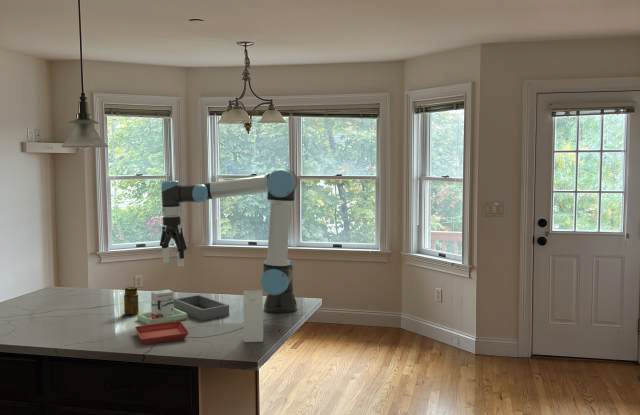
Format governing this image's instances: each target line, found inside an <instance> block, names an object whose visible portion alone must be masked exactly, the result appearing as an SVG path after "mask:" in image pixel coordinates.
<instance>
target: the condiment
mask: <svg viewBox="0 0 640 415" xmlns="http://www.w3.org/2000/svg"><path fill="white" fill-rule="evenodd" d="M123 307H124V312H122V318H134V317H137V314H141V313H140V310H139V293H138V287H136V286H127V287H126V288H124V295H123Z"/></svg>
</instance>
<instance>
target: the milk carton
mask: <svg viewBox="0 0 640 415" xmlns="http://www.w3.org/2000/svg"><path fill="white" fill-rule="evenodd" d="M263 299H264V296H263V289H261V290H243V343H263V342H264V302H263V301H264V300H263Z"/></svg>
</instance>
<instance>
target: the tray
mask: <svg viewBox="0 0 640 415" xmlns="http://www.w3.org/2000/svg"><path fill="white" fill-rule="evenodd" d="M188 316H189V315H188V314H187V313H185V312H183V311H180V310H178V309H175V308H174V315H173V316H168V317H162V318H157V319H152V315H151V311H148V312H144V313H140V314H137V316H136V317H137V321H138V322H141V323H142V324H144V325H152V324H160V323H168V322H175V321H181V322H182V321H186V320H188Z"/></svg>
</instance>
